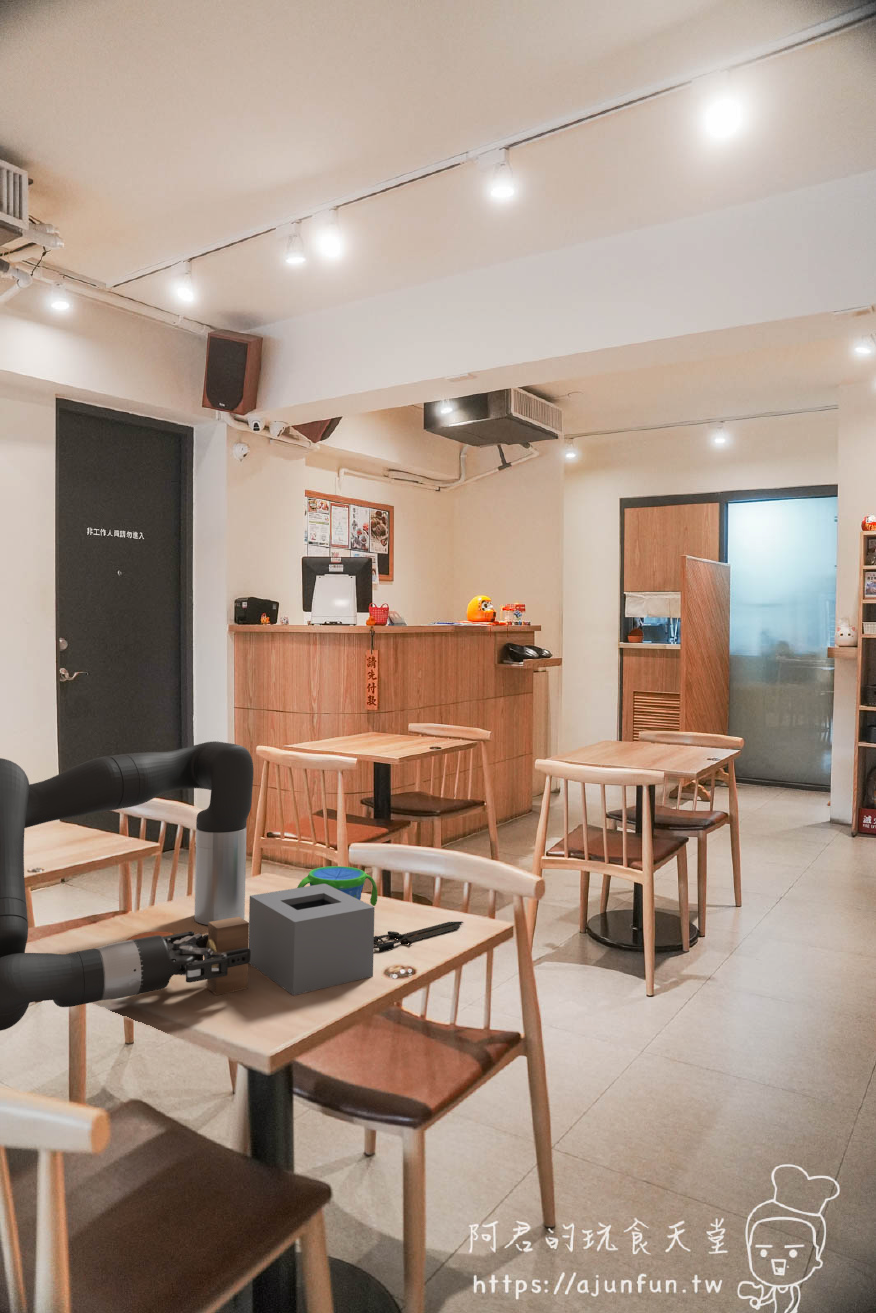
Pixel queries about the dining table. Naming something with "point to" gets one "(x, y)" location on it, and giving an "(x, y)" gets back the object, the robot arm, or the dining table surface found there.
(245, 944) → the brown rectangular block
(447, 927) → the knife
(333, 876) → the snack cup
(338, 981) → the tissue box
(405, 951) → the dining table surface
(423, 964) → the dining table surface
